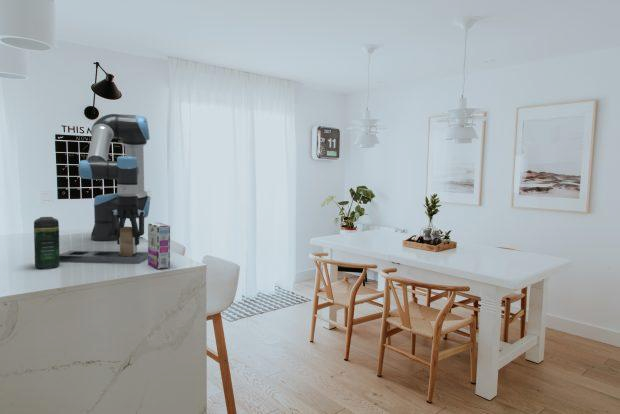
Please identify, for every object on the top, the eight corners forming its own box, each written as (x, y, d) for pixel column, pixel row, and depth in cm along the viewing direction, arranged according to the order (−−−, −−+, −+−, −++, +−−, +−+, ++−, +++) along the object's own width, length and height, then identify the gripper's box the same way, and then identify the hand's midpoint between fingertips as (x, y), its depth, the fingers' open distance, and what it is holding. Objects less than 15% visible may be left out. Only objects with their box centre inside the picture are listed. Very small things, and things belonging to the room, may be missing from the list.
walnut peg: (125, 255, 167) (124, 226, 166) (136, 255, 167) (136, 226, 166) (120, 257, 163) (119, 228, 161) (131, 258, 163) (131, 228, 162)
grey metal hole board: (70, 256, 169) (70, 250, 169) (148, 258, 170) (148, 252, 170) (56, 261, 159) (56, 255, 159) (138, 263, 160) (138, 257, 160)
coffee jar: (60, 267, 151) (59, 218, 149) (34, 270, 146) (33, 219, 145) (59, 262, 159) (58, 215, 157) (35, 264, 154) (33, 216, 153)
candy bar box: (170, 268, 155) (170, 225, 153) (157, 269, 152) (157, 226, 150) (160, 262, 163) (159, 222, 162) (147, 264, 160) (147, 222, 159)
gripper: (100, 195, 159) (102, 254, 161) (146, 196, 159) (146, 255, 161) (109, 194, 166) (110, 250, 168) (153, 195, 167) (153, 251, 169)
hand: (128, 252), depth 165 cm, fingers closed on walnut peg, 4 cm apart
